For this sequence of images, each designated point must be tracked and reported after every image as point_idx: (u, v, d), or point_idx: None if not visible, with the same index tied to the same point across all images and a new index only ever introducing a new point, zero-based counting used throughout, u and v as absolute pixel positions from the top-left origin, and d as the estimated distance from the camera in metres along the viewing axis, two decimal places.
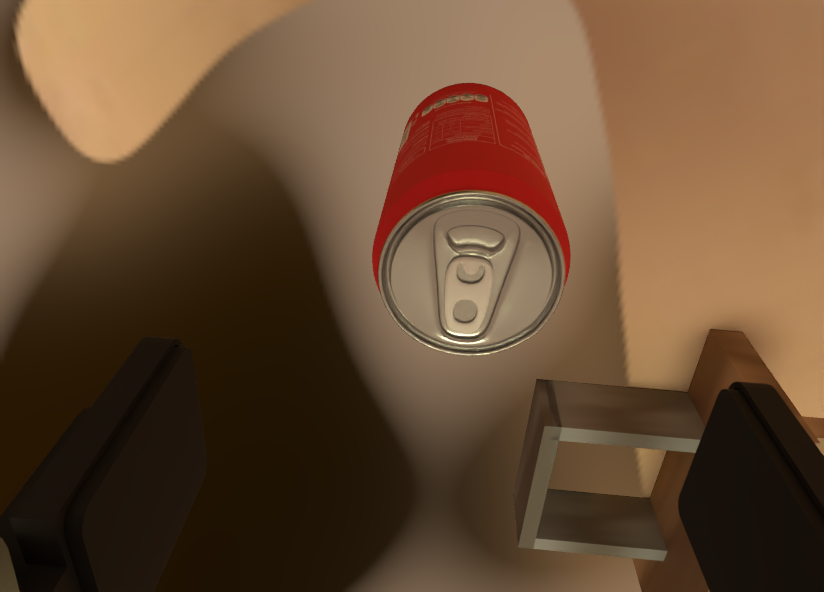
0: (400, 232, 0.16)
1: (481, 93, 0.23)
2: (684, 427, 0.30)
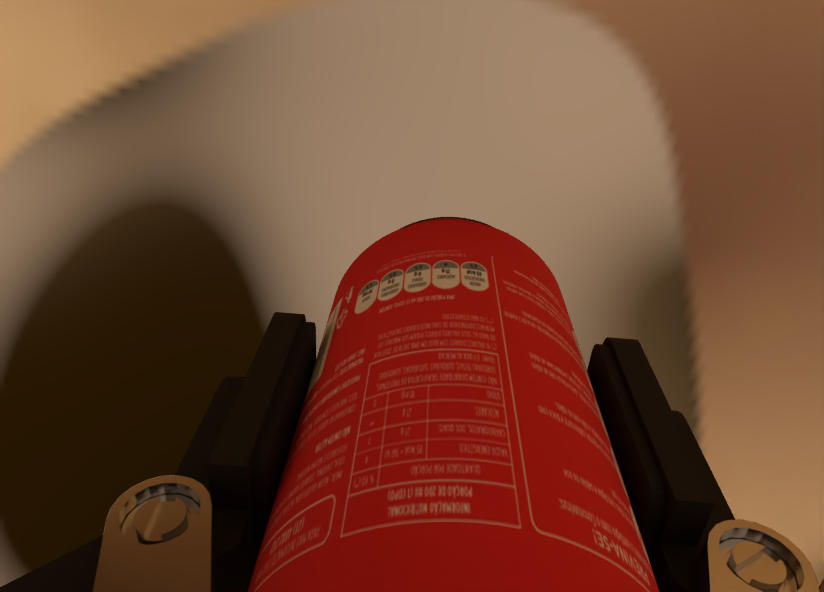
0: None
1: (474, 257, 0.11)
2: None
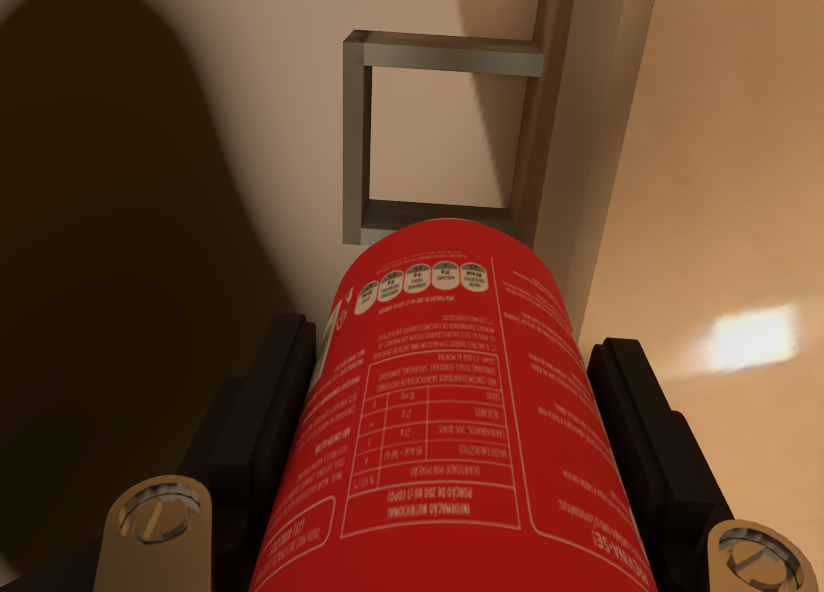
0: None
1: (474, 257, 0.12)
2: (515, 49, 0.25)
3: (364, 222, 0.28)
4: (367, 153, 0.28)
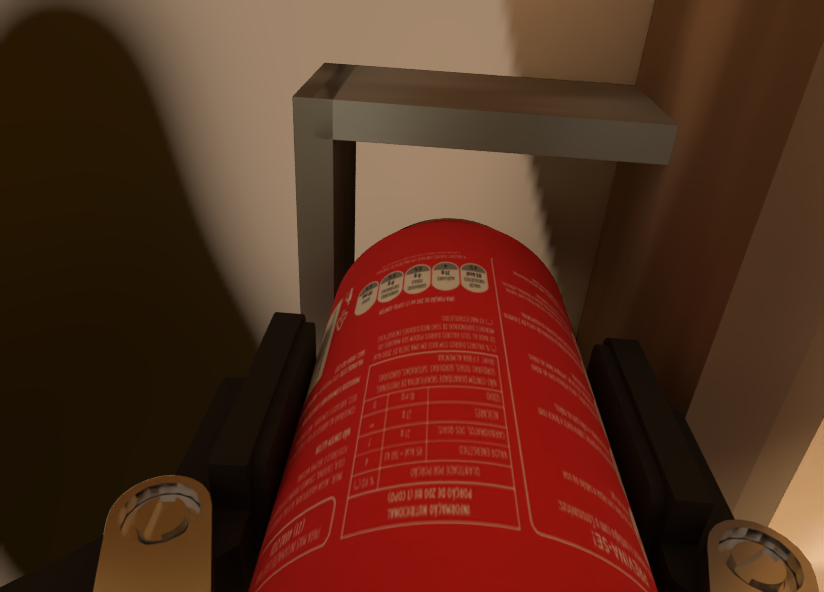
0: None
1: (474, 258, 0.12)
2: (618, 111, 0.13)
3: None
4: (347, 267, 0.17)
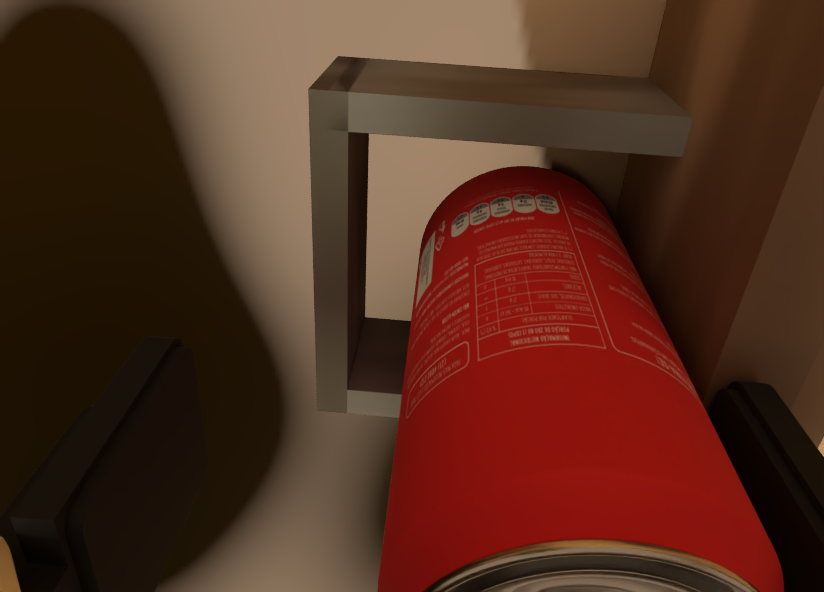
0: None
1: (544, 191, 0.14)
2: (632, 103, 0.13)
3: (353, 374, 0.17)
4: (360, 260, 0.17)
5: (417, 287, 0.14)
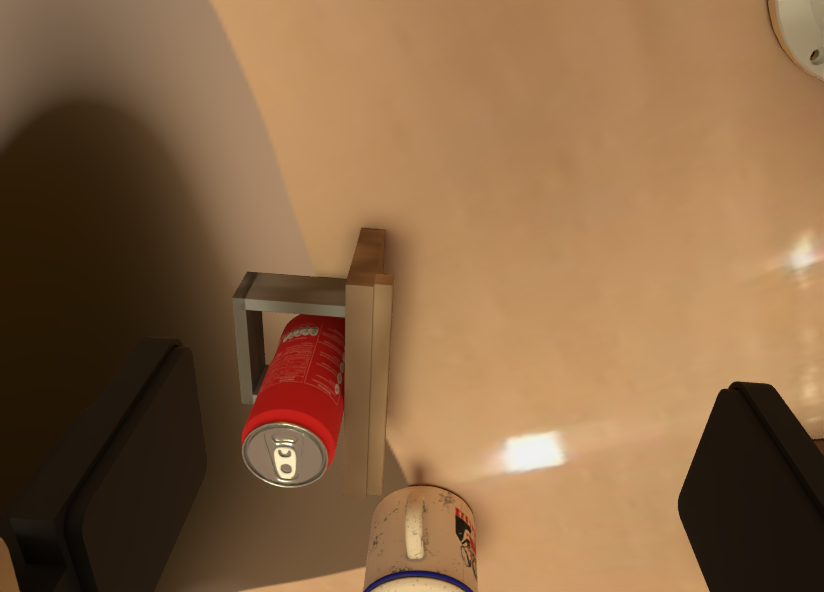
0: (250, 437, 0.34)
1: (316, 325, 0.41)
2: (339, 299, 0.40)
3: (256, 389, 0.44)
4: (258, 344, 0.44)
5: None
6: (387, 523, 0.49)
